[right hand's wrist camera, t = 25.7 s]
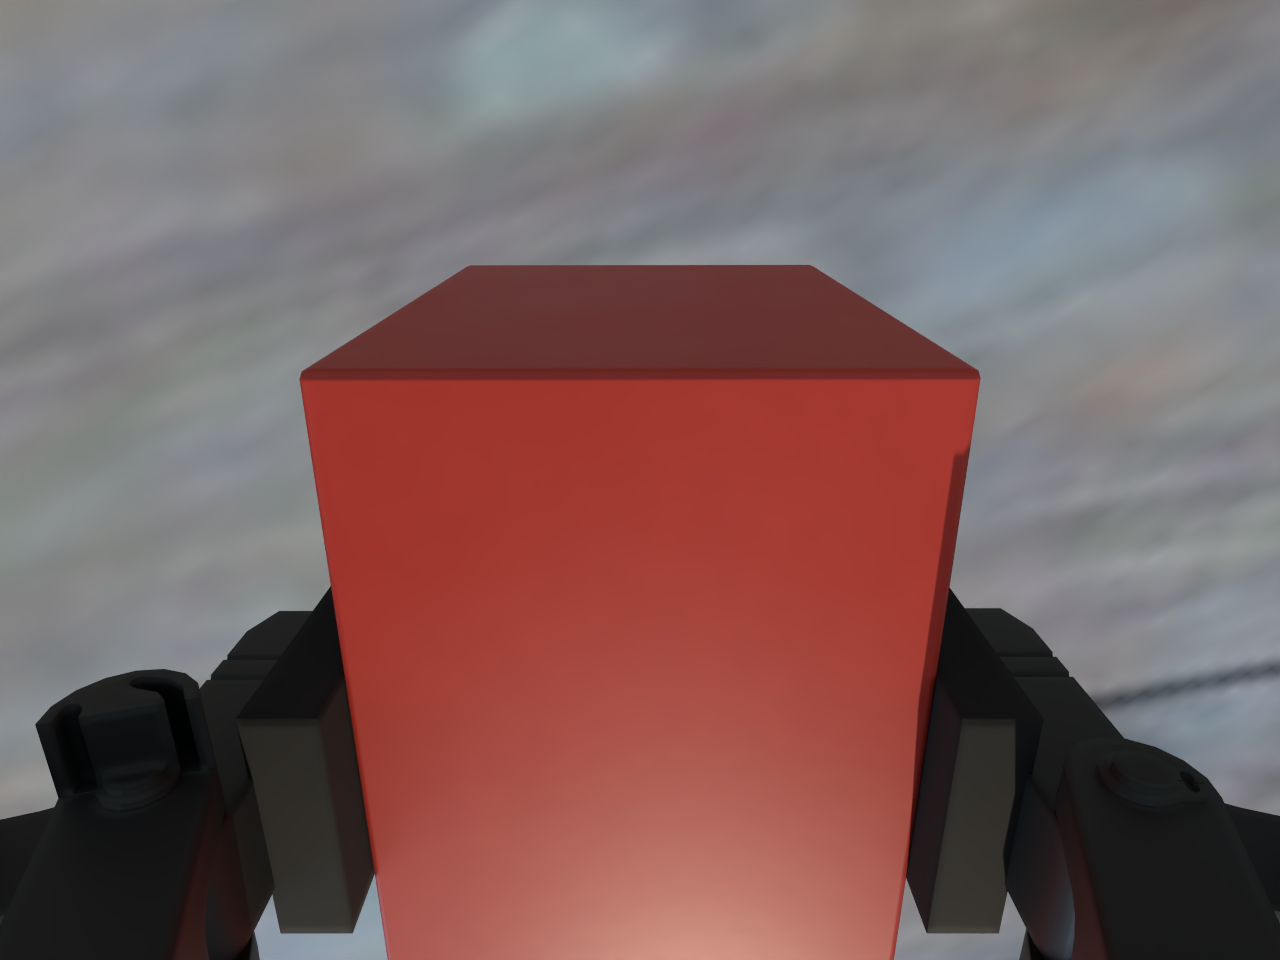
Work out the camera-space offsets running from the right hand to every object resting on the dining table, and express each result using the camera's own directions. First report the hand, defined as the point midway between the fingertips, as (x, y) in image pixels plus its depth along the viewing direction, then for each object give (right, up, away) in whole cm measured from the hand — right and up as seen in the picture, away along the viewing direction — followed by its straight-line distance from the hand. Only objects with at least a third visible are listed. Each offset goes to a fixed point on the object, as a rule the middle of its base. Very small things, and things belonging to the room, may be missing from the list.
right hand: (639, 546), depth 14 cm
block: (0, +1, +2) cm, 2 cm away
